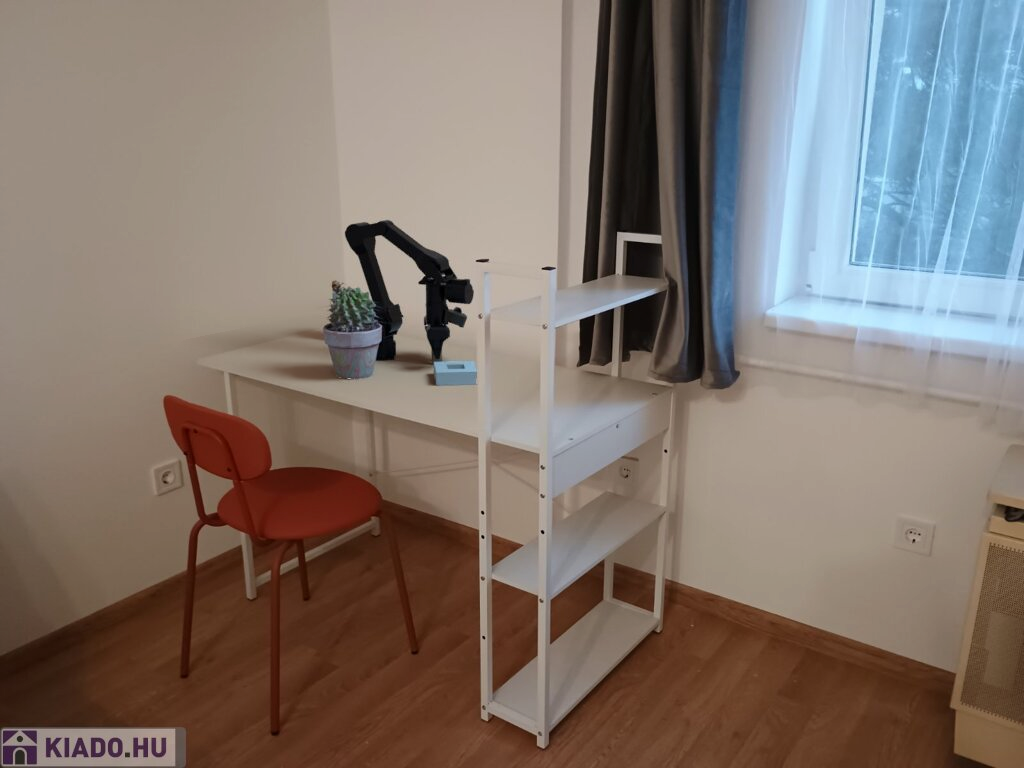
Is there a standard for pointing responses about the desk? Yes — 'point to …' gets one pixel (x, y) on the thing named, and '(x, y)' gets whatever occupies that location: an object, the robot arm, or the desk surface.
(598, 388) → the desk surface
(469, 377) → the socket block
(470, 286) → the robot arm
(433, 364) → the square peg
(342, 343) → the potted plant
